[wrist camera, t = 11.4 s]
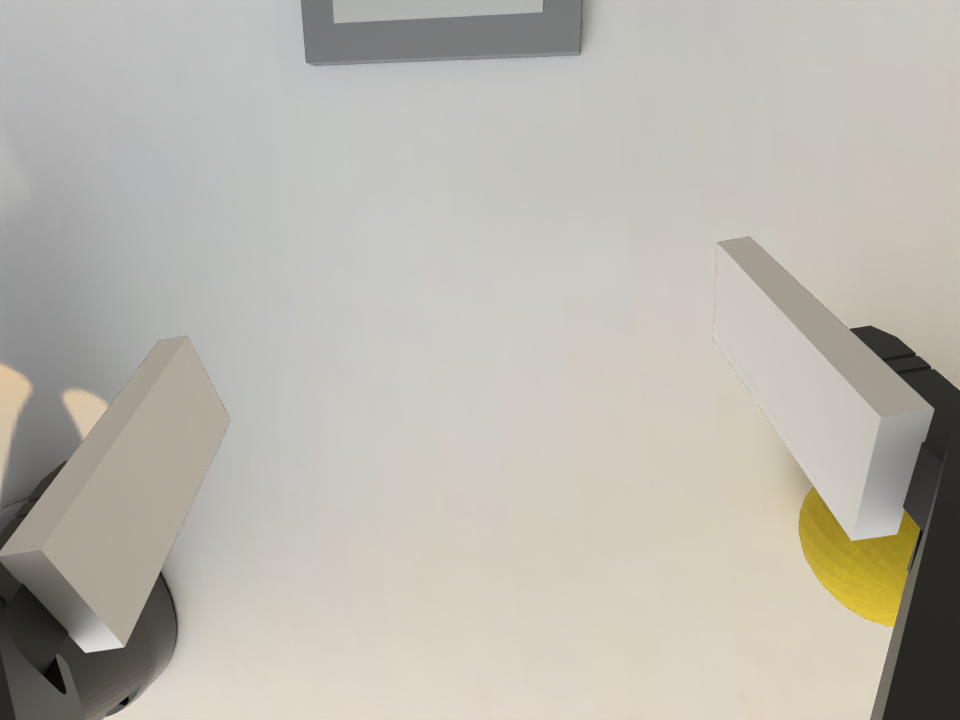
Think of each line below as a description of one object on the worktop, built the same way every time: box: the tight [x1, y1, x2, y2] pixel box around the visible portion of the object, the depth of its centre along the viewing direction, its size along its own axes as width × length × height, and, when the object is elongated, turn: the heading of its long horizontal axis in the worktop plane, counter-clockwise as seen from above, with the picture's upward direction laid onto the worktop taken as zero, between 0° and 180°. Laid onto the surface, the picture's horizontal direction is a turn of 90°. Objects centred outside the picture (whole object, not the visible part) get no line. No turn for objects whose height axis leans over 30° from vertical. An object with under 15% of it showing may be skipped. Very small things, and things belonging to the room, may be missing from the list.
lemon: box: [799, 487, 920, 627], centre depth 25 cm, size 6×6×8 cm
